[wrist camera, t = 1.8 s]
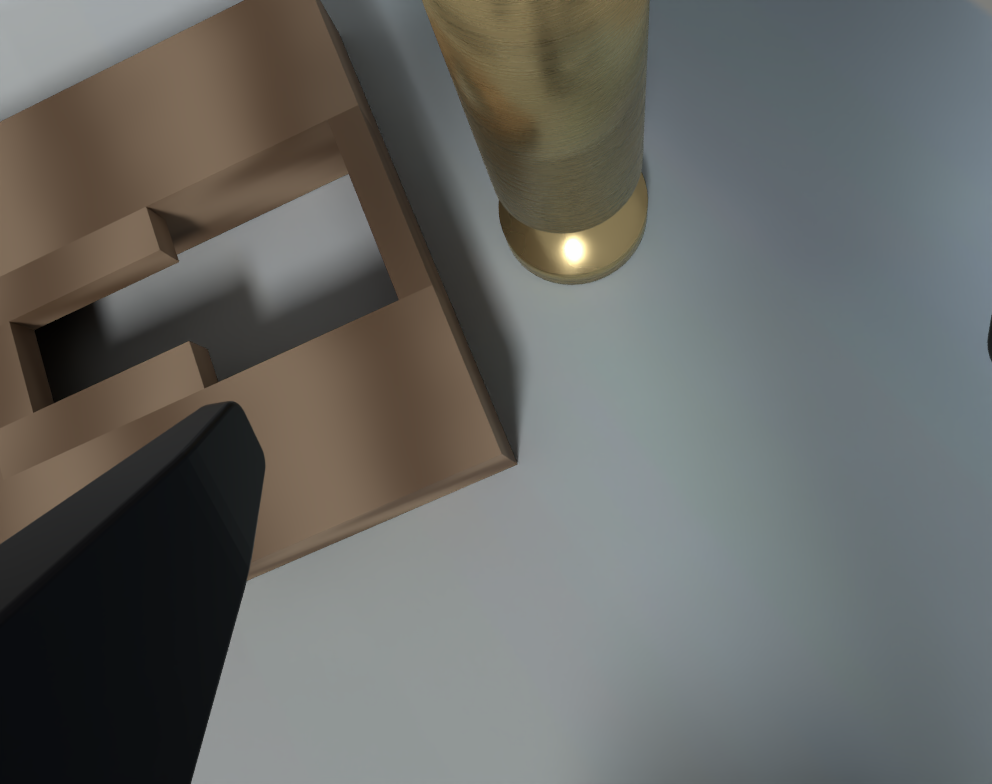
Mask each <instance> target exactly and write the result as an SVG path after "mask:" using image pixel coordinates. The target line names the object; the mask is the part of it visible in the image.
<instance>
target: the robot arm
mask: <svg viewBox="0 0 992 784" xmlns="http://www.w3.org/2000/svg"><path fill="white" fill-rule="evenodd" d="M987 342H988V352H989V356H990V359H991V361H992V315H991V321H990V327H989V333H988V341H987ZM265 468H266V464H265V456H264V452H263V450H262V447H261V445H260V443H259V441H258V439H257V437H256V435H255V433H254V431H253V428H252V426H251V424H250V422H249V420H248V418H247V416H246V414H245V412H244V410H243V408H242V407H241V406H240V405H239V404H238V403H236V402H234V401H226V402H220V403H213V404H207V405H204V406H202V407H200V408H199V409H198V410H196V411H195V412H193V413H192V414H190V415H189V416H187V417H186V418H184V419H183V420H181V421H180V422H178V423H177V424H176V425H174V426H173V427H171V428H170V429H168V430H167V431H165V432H164V433H162V434H161V435H159V436H158V437H156V438H155V439H154V440H152V441H151V442H149V443H148V444H146V445H145V446H143V447H142V448H140V449H139V450H137V451H136V452H134V453H133V454H132V455H130V456H129V457H127V458H126V459H124V460H123V461H121V462H120V463H118V464H117V465H115V466H114V467H112V468H111V469H110V470H108V471H107V472H105V473H104V474H102V475H101V476H99V477H98V478H96V479H95V480H93V481H92V482H90V483H89V484H88V485H86V486H85V487H83V488H82V489H80V490H79V491H77V492H76V493H74V494H73V495H71V496H70V497H68V498H67V499H66V500H64V501H63V502H61V503H60V504H58V505H57V506H55V507H54V508H52V509H51V510H49V511H48V512H46V513H45V514H44V515H42V516H41V517H39V518H38V519H36V520H35V521H33V522H32V523H30V524H29V525H27V526H26V527H24V528H23V529H22V530H20V531H19V532H17V533H16V534H14V535H13V536H11V537H10V538H8V539H7V540H5V541H4V542H2V543H1V544H0V784H191V781H192V778H193V774H194V770H195V767H196V763H197V759H198V756H199V752H200V749H201V745H202V741H203V738H204V734H205V731H206V727H207V723H208V720H209V716H210V712H211V709H212V705H213V702H214V698H215V694H216V691H217V687H218V684H219V680H220V676H221V673H222V669H223V665H224V662H225V658H226V655H227V651H228V647H229V644H230V640H231V637H232V633H233V629H234V626H235V622H236V619H237V615H238V611H239V608H240V604H241V600H242V597H243V593H244V590H245V586H246V582H247V578H248V574H249V570H250V564H251V559H252V554H253V548H254V541H255V535H256V528H257V522H258V515H259V509H260V502H261V496H262V489H263V483H264V476H265Z"/></svg>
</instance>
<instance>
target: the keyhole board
mask: <svg viewBox="0 0 992 784" xmlns="http://www.w3.org/2000/svg"><path fill="white" fill-rule="evenodd" d="M347 174H349V176H350V178H351V181H352V183H353V186H354V188H355V191H356V193H357V196H358V198H359V201H360V203H361V206H362V208H363V211H364V213H365V216H366V218H367V221H368V223H369V226H370V228H371V231H372V233H373V236H374V238H375V241H376V244H377V246H378V249H379V251H380V254H381V256H382V259H383V261H384V264H385V266H386V269H387V271H388V274H389V276H390V279H391V281H392V284H393V286H394V289H395V291H396V294H397V296H398V299H399V300H398V301H396V302H394V303H391V304H389V305H387V306H385V307H383V308H380V309H378V310H376V311H374V312H372V313H369V314H367V315H365V316H363V317H361V318H358V319H356V320H354V321H352V322H350V323H347V324H345V325H343V326H341V327H339V328H336V329H334V330H332V331H330V332H328V333H325V334H323V335H321V336H319V337H317V338H314V339H312V340H310V341H308V342H306V343H304V344H301V345H299V346H297V347H295V348H293V349H290V350H288V351H286V352H284V353H282V354H279V355H277V356H275V357H273V358H271V359H268V360H266V361H264V362H262V363H260V364H257V365H255V366H253V367H251V368H249V369H246V370H244V371H242V372H240V373H238V374H235V375H233V376H231V377H229V378H227V379H224V380H222V381H220V382H218V379H217V376H216V373H215V370H214V367H213V364H212V361H211V358H210V355H209V352H208V349H206V348H204V347H202V346H199V345H197V344H195V343H193V342H190V341H188V342H186V343H184V344H181V345H179V346H177V347H175V348H173V349H171V350H168V351H166V352H164V353H162V354H160V355H158V356H155V357H153V358H151V359H149V360H147V361H145V362H142V363H140V364H138V365H136V366H134V367H132V368H129V369H127V370H125V371H123V372H121V373H119V374H116V375H114V376H112V377H110V378H108V379H106V380H103V381H101V382H99V383H97V384H95V385H93V386H90V387H88V388H86V389H84V390H82V391H80V392H77V393H75V394H73V395H71V396H69V397H67V398H64V399H62V400H60V401H58V402H56V403H54V402H53V398H52V394H51V390H50V387H49V383H48V379H47V376H46V372H45V368H44V365H43V361H42V357H41V354H40V350H39V346H38V342H37V339H36V335H35V331H34V330H36V329H38V328H40V327H42V326H44V325H46V324H48V323H50V322H53V321H55V320H57V319H59V318H61V317H63V316H65V315H67V314H70V313H72V312H74V311H76V310H78V309H80V308H82V307H84V306H86V305H89V304H91V303H93V302H95V301H97V300H99V299H101V298H103V297H106V296H108V295H110V294H112V293H114V292H116V291H118V290H120V289H123V288H125V287H127V286H129V285H131V284H133V283H135V282H137V281H140V280H142V279H144V278H146V277H148V276H150V275H152V274H154V273H157V272H159V271H161V270H163V269H165V268H167V267H169V266H171V265H174V264H176V263H178V262H179V260H178V257H177V254H179V253H181V252H184V251H186V250H188V249H190V248H192V247H194V246H196V245H198V244H201V243H203V242H205V241H207V240H209V239H211V238H213V237H215V236H217V235H220V234H222V233H224V232H226V231H228V230H230V229H232V228H234V227H237V226H239V225H241V224H243V223H245V222H247V221H249V220H251V219H253V218H256V217H258V216H260V215H262V214H264V213H266V212H268V211H270V210H273V209H275V208H277V207H279V206H281V205H283V204H285V203H287V202H289V201H292V200H294V199H296V198H298V197H300V196H302V195H304V194H306V193H309V192H311V191H313V190H315V189H317V188H319V187H321V186H323V185H325V184H328V183H330V182H332V181H334V180H336V179H338V178H340V177H342V176H345V175H347ZM226 401H234V402H236V403H238V404H239V405H240V406H241V407H242V408H243V410H244V412H245V414H246V416H247V418H248V420H249V422H250V424H251V426H252V428H253V431H254V433H255V435H256V437H257V439H258V441H259V443H260V445H261V447H262V450H263V452H264V456H265V464H266V468H265V476H264V483H263V489H262V496H261V502H260V509H259V515H258V522H257V528H256V535H255V541H254V548H253V554H252V559H251V564H250V570H249V574H248V578H247V581H248V580H250V579H252V578H254V577H257V576H259V575H261V574H264V573H266V572H268V571H271V570H273V569H275V568H278V567H280V566H282V565H285V564H287V563H289V562H292V561H294V560H296V559H299V558H301V557H303V556H306V555H308V554H310V553H313V552H315V551H317V550H320V549H322V548H324V547H327V546H329V545H331V544H334V543H336V542H338V541H340V540H343V539H345V538H347V537H350V536H352V535H354V534H357V533H359V532H361V531H364V530H366V529H368V528H371V527H373V526H375V525H378V524H380V523H382V522H385V521H387V520H389V519H392V518H394V517H396V516H399V515H401V514H403V513H406V512H408V511H410V510H413V509H415V508H417V507H419V506H422V505H424V504H426V503H429V502H431V501H433V500H436V499H438V498H440V497H443V496H445V495H447V494H450V493H452V492H454V491H457V490H459V489H461V488H464V487H466V486H468V485H471V484H473V483H475V482H478V481H480V480H482V479H485V478H487V477H489V476H492V475H494V474H496V473H499V472H501V471H503V470H505V469H508V468H510V467H512V466H515V465H517V462H516V459H515V457H514V454H513V452H512V449H511V447H510V445H509V442H508V440H507V437H506V435H505V433H504V430H503V428H502V425H501V423H500V421H499V418H498V416H497V413H496V411H495V408H494V406H493V404H492V401H491V399H490V396H489V394H488V392H487V389H486V387H485V384H484V382H483V380H482V377H481V375H480V372H479V370H478V367H477V365H476V363H475V360H474V358H473V355H472V353H471V351H470V348H469V346H468V343H467V341H466V338H465V336H464V334H463V331H462V329H461V326H460V324H459V322H458V319H457V317H456V314H455V312H454V310H453V307H452V305H451V302H450V300H449V297H448V295H447V293H446V290H445V288H444V285H443V283H442V281H441V278H440V276H439V273H438V271H437V269H436V266H435V264H434V261H433V259H432V256H431V254H430V252H429V249H428V247H427V244H426V242H425V240H424V237H423V235H422V232H421V230H420V228H419V225H418V223H417V220H416V218H415V215H414V213H413V211H412V208H411V206H410V203H409V201H408V199H407V196H406V194H405V191H404V189H403V187H402V184H401V182H400V179H399V177H398V174H397V172H396V170H395V167H394V165H393V162H392V160H391V158H390V155H389V153H388V150H387V148H386V146H385V143H384V141H383V138H382V136H381V133H380V131H379V129H378V126H377V124H376V121H375V119H374V117H373V114H372V112H371V109H370V107H369V104H368V102H367V100H366V97H365V95H364V92H363V90H362V88H361V85H360V83H359V80H358V78H357V76H356V73H355V71H354V68H353V66H352V63H351V61H350V59H349V56H348V54H347V51H346V49H345V47H344V44H343V42H342V39H341V37H340V35H339V32H338V31H337V29H336V27H335V25H334V24H333V22H332V20H331V18H330V17H329V15H328V13H327V11H326V10H325V8H324V6H323V4H322V3H321V1H320V0H244V1H242V2H240V3H238V4H236V5H234V6H232V7H230V8H228V9H226V10H224V11H222V12H220V13H218V14H216V15H214V16H212V17H210V18H208V19H206V20H204V21H202V22H200V23H198V24H196V25H194V26H192V27H190V28H188V29H186V30H184V31H182V32H180V33H178V34H176V35H174V36H172V37H170V38H168V39H166V40H164V41H162V42H160V43H158V44H156V45H154V46H152V47H150V48H148V49H146V50H144V51H142V52H140V53H138V54H136V55H134V56H132V57H130V58H128V59H126V60H124V61H122V62H120V63H118V64H115V65H113V66H111V67H109V68H107V69H105V70H103V71H101V72H99V73H97V74H95V75H93V76H91V77H89V78H87V79H85V80H83V81H81V82H79V83H77V84H75V85H73V86H71V87H69V88H67V89H65V90H63V91H61V92H59V93H57V94H55V95H53V96H51V97H49V98H47V99H45V100H43V101H41V102H39V103H37V104H35V105H33V106H31V107H29V108H27V109H25V110H23V111H21V112H19V113H17V114H15V115H13V116H11V117H9V118H7V119H5V120H3V121H1V122H0V544H1V543H2V542H4V541H5V540H7V539H8V538H10V537H11V536H13V535H14V534H16V533H17V532H19V531H20V530H22V529H23V528H24V527H26V526H27V525H29V524H30V523H32V522H33V521H35V520H36V519H38V518H39V517H41V516H42V515H44V514H45V513H46V512H48V511H49V510H51V509H52V508H54V507H55V506H57V505H58V504H60V503H61V502H63V501H64V500H66V499H67V498H68V497H70V496H71V495H73V494H74V493H76V492H77V491H79V490H80V489H82V488H83V487H85V486H86V485H88V484H89V483H90V482H92V481H93V480H95V479H96V478H98V477H99V476H101V475H102V474H104V473H105V472H107V471H108V470H110V469H111V468H112V467H114V466H115V465H117V464H118V463H120V462H121V461H123V460H124V459H126V458H127V457H129V456H130V455H132V454H133V453H134V452H136V451H137V450H139V449H140V448H142V447H143V446H145V445H146V444H148V443H149V442H151V441H152V440H154V439H155V438H156V437H158V436H159V435H161V434H162V433H164V432H165V431H167V430H168V429H170V428H171V427H173V426H174V425H176V424H177V423H178V422H180V421H181V420H183V419H184V418H186V417H187V416H189V415H190V414H192V413H193V412H195V411H196V410H198V409H199V408H200V407H202V406H204V405H207V404H213V403H220V402H226Z"/></svg>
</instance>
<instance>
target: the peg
mask: <svg viewBox="0 0 992 784" xmlns="http://www.w3.org/2000/svg"><path fill="white" fill-rule="evenodd" d="M422 2H423V4H424V7H425V10H426V12H427V15H428V17H429V20H430V23H431V25H432V28H433V30H434V33H435V36H436V38H437V41H438V44H439V46H440V49H441V51H442V54H443V57H444V59H445V62H446V64H447V67H448V70H449V72H450V75H451V78H452V80H453V83H454V85H455V88H456V91H457V93H458V96H459V98H460V101H461V104H462V106H463V109H464V112H465V114H466V117H467V119H468V122H469V125H470V127H471V130H472V133H473V135H474V138H475V140H476V143H477V146H478V148H479V151H480V153H481V156H482V159H483V161H484V164H485V167H486V169H487V172H488V174H489V177H490V180H491V182H492V185H493V187H494V190H495V192H496V194H497V197H498V199H499V217H500V223H501V226H502V230H503V232H504V235H505V237H506V240H507V242H508V244H509V247H510V249H511V251H512V252H513V254H514V256H515V257H516V259H517V260H518V261H519V262H520V263H521V264H522V265H523V266H524V267H525V268H526V269H527V270H529V271H530V272H531V273H533V274H535V275H536V276H538V277H540V278H542V279H544V280H547V281H550V282H554V283H559V284H568V285H576V284H585V283H590V282H593V281H596V280H599V279H602V278H604V277H606V276H608V275H610V274H612V273H613V272H615V271H616V270H618V269H619V268H620V267H621V266H623V265H624V264H625V263H626V262H627V261H628V260H629V259H630V257H631V256H632V255H633V253H634V252H635V251H636V249H637V247H638V246H639V244H640V242H641V240H642V237H643V234H644V231H645V227H646V220H647V206H648V196H647V188H646V183H645V180H644V177H643V174H642V172H641V170H642V161H643V140H644V117H645V94H646V71H647V48H648V25H649V3H650V0H422Z"/></svg>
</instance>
